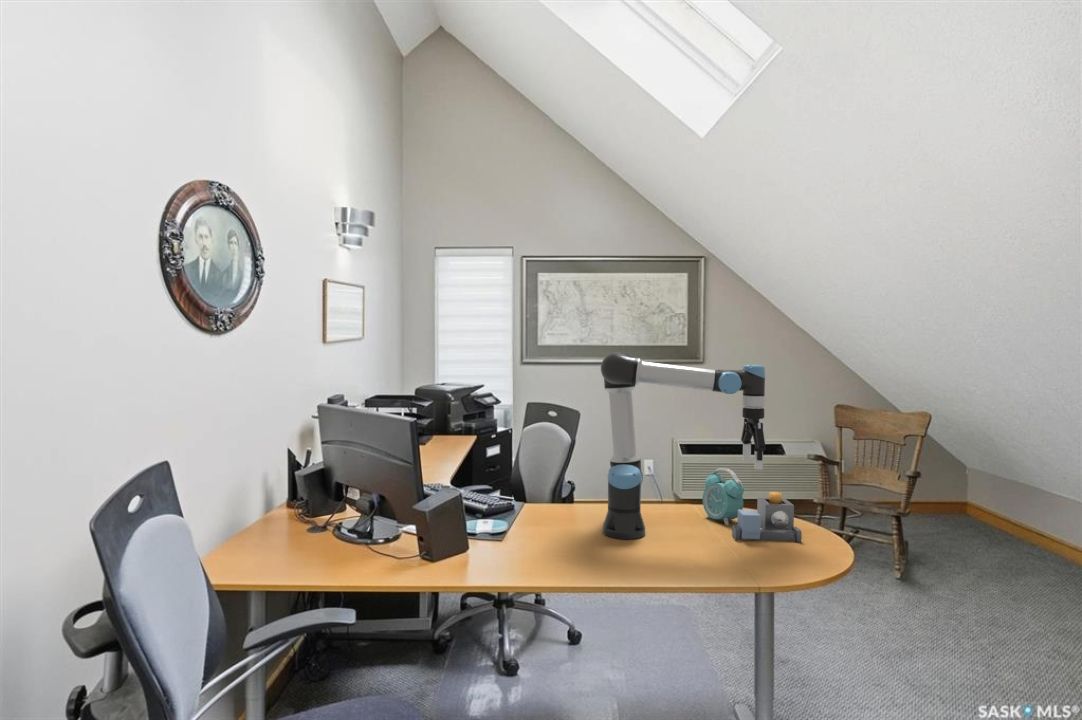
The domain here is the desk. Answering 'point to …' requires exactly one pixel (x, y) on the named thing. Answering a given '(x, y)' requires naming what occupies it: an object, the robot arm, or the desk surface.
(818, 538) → the desk surface
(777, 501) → the button
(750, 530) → the block
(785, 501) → the cabinet
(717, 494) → the alarm clock
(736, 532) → the rail
